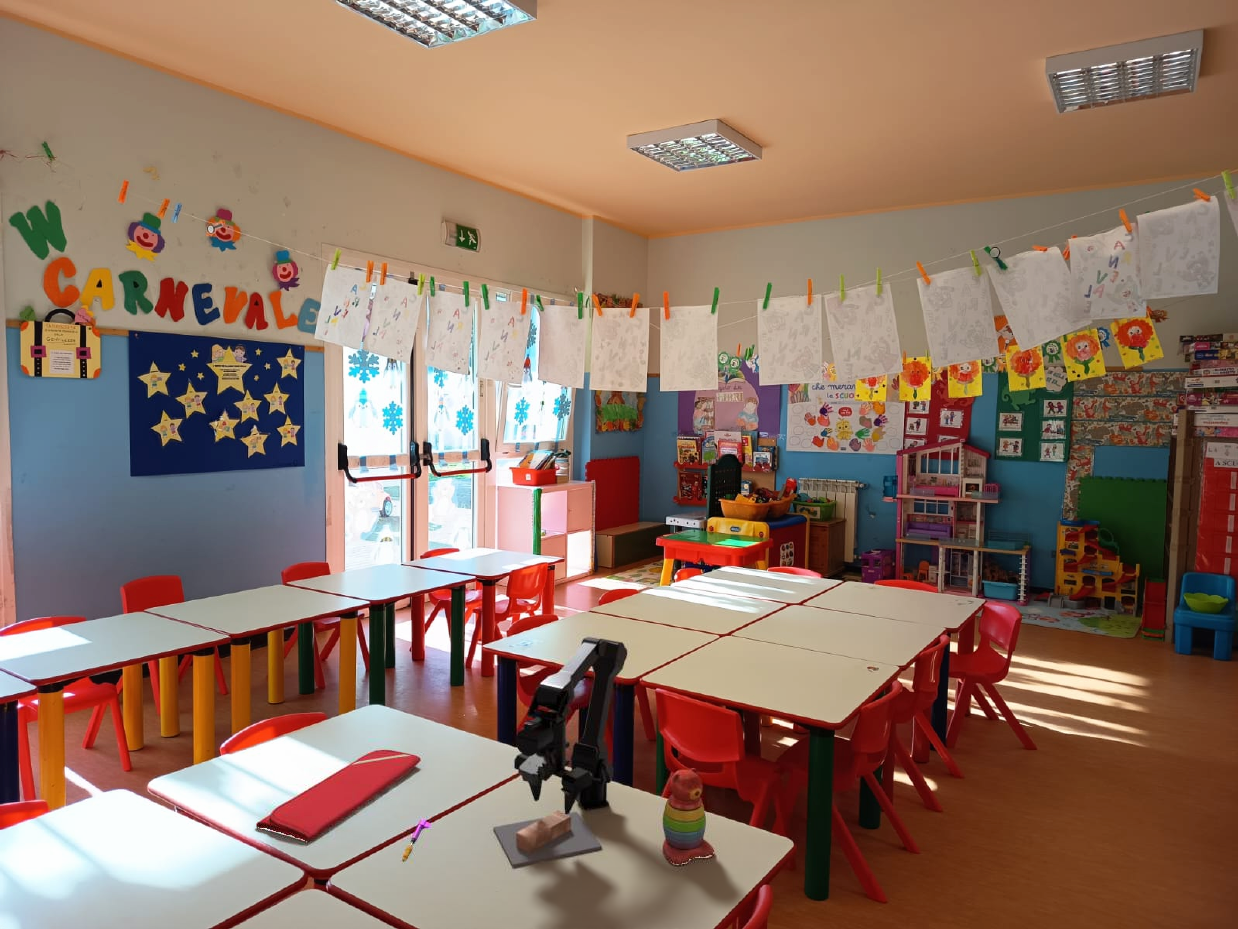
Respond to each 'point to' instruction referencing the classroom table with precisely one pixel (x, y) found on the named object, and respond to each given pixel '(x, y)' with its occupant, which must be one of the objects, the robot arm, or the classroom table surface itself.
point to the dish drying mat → (339, 794)
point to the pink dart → (421, 825)
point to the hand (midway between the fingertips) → (551, 807)
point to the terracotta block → (543, 831)
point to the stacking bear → (685, 819)
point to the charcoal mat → (561, 846)
